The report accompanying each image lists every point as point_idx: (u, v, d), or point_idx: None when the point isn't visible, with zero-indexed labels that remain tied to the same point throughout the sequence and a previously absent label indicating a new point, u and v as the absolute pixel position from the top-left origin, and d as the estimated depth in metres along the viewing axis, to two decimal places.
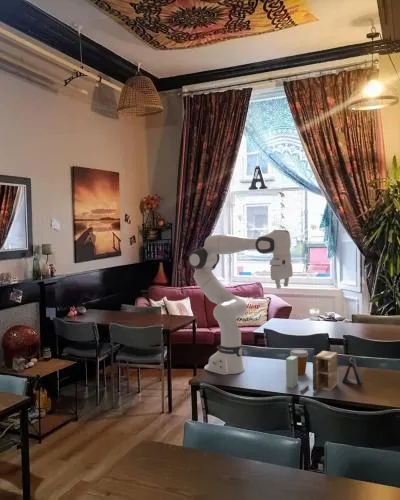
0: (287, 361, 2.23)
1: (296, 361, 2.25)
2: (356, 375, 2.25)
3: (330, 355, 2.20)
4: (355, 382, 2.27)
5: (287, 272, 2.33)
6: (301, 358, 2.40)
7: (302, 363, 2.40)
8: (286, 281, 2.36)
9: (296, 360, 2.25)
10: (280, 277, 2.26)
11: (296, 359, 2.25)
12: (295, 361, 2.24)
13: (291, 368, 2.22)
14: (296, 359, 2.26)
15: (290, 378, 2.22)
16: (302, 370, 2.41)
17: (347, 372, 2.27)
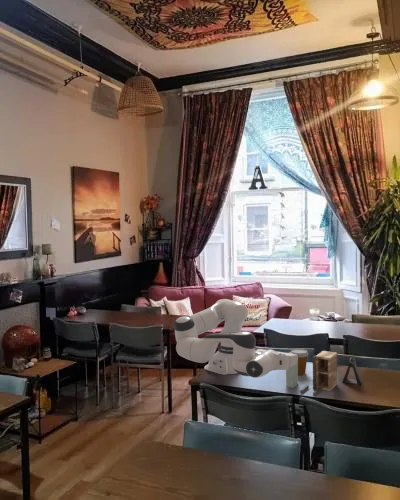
0: None
1: None
2: (356, 375, 2.25)
3: (330, 355, 2.20)
4: (355, 382, 2.27)
5: None
6: (301, 358, 2.40)
7: (302, 363, 2.41)
8: None
9: None
10: (290, 353, 2.06)
11: None
12: None
13: (291, 368, 2.22)
14: None
15: (290, 378, 2.22)
16: (302, 370, 2.41)
17: (347, 372, 2.27)
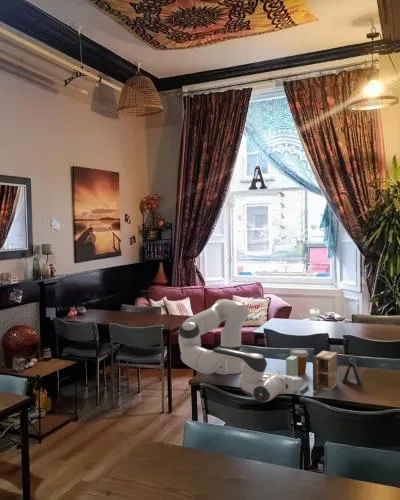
0: (287, 361, 2.23)
1: (296, 361, 2.25)
2: (356, 375, 2.25)
3: (330, 355, 2.20)
4: (355, 382, 2.27)
5: None
6: (301, 358, 2.40)
7: (302, 363, 2.40)
8: None
9: (296, 360, 2.25)
10: (295, 377, 2.11)
11: (296, 359, 2.25)
12: (295, 361, 2.24)
13: (291, 368, 2.22)
14: (296, 359, 2.26)
15: None
16: (302, 370, 2.41)
17: (347, 372, 2.27)
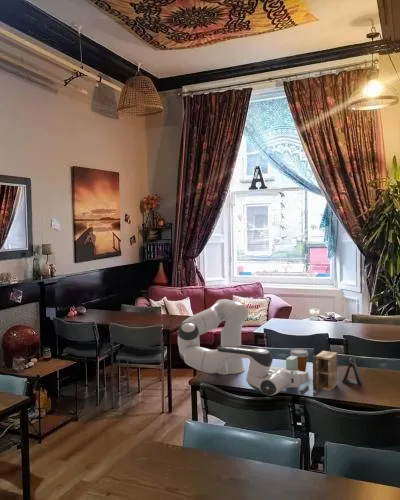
0: (287, 361, 2.23)
1: (296, 361, 2.25)
2: (356, 375, 2.25)
3: (330, 355, 2.20)
4: (355, 382, 2.27)
5: None
6: (301, 358, 2.40)
7: (302, 363, 2.40)
8: None
9: (296, 360, 2.25)
10: (300, 371, 2.17)
11: (296, 359, 2.25)
12: (295, 361, 2.24)
13: (291, 368, 2.22)
14: (296, 359, 2.26)
15: None
16: (302, 370, 2.41)
17: (347, 372, 2.27)
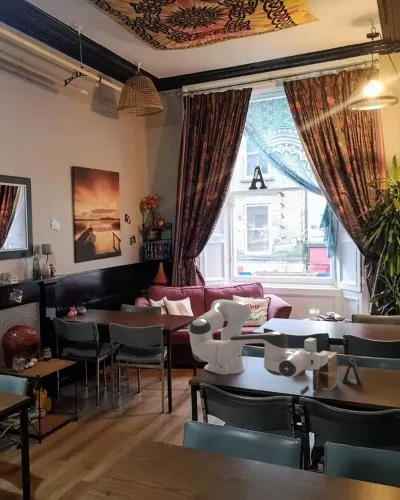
0: (305, 343, 2.13)
1: (315, 343, 2.15)
2: (356, 375, 2.25)
3: (330, 355, 2.20)
4: (355, 382, 2.27)
5: None
6: None
7: None
8: None
9: (315, 342, 2.15)
10: (320, 353, 2.07)
11: (315, 341, 2.15)
12: (313, 343, 2.14)
13: (309, 350, 2.12)
14: (315, 341, 2.16)
15: None
16: None
17: (347, 372, 2.27)
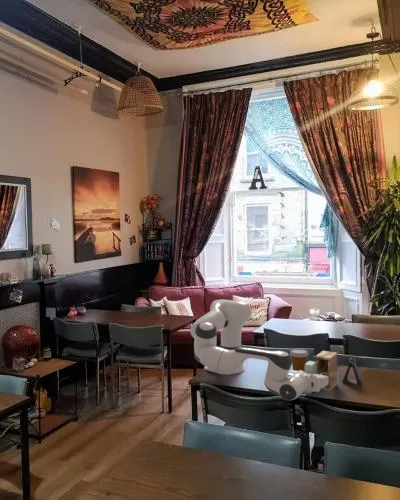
0: (306, 367, 2.13)
1: (315, 367, 2.16)
2: (356, 375, 2.25)
3: (330, 355, 2.20)
4: (355, 382, 2.27)
5: None
6: (301, 358, 2.40)
7: (302, 363, 2.40)
8: None
9: (315, 366, 2.16)
10: (320, 375, 2.08)
11: (315, 364, 2.16)
12: (314, 367, 2.14)
13: None
14: (315, 364, 2.16)
15: None
16: None
17: (347, 372, 2.27)
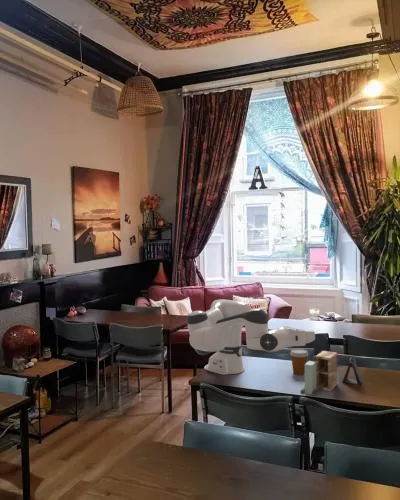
0: (306, 367, 2.13)
1: (315, 367, 2.16)
2: (356, 375, 2.25)
3: (330, 355, 2.20)
4: (355, 382, 2.27)
5: None
6: (301, 358, 2.40)
7: (302, 363, 2.40)
8: None
9: (315, 365, 2.16)
10: None
11: (315, 364, 2.16)
12: (314, 367, 2.15)
13: (310, 374, 2.13)
14: (315, 364, 2.16)
15: (309, 384, 2.13)
16: (302, 370, 2.41)
17: (347, 372, 2.27)
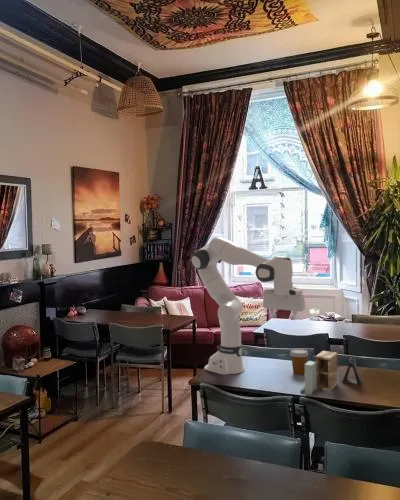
0: (306, 367, 2.13)
1: (315, 367, 2.16)
2: (356, 375, 2.25)
3: (330, 355, 2.20)
4: (355, 382, 2.27)
5: None
6: (301, 358, 2.40)
7: (302, 363, 2.40)
8: (273, 312, 2.19)
9: (315, 365, 2.16)
10: None
11: (315, 364, 2.16)
12: (314, 367, 2.15)
13: (310, 374, 2.13)
14: (315, 364, 2.16)
15: (309, 384, 2.13)
16: (302, 370, 2.41)
17: (347, 372, 2.27)
